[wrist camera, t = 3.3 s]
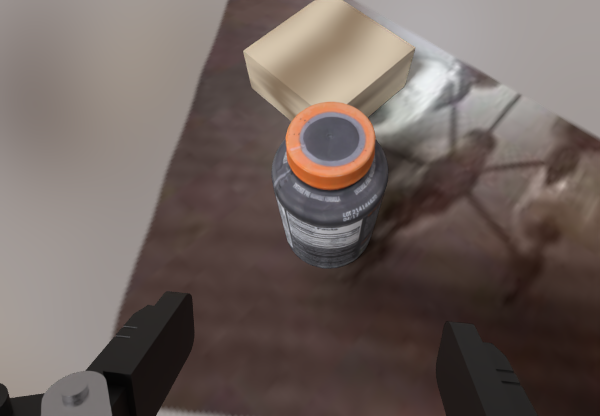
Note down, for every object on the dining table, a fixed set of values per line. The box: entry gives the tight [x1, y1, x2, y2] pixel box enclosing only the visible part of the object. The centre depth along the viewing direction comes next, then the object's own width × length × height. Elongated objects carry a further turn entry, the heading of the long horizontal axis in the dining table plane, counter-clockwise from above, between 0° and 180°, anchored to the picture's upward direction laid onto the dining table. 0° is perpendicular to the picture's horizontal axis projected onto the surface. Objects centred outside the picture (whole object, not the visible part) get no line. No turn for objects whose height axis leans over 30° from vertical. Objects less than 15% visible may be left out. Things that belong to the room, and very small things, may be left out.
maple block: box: [243, 0, 415, 121], centre depth 31 cm, size 9×9×4 cm
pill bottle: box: [272, 102, 388, 268], centre depth 22 cm, size 6×6×11 cm
